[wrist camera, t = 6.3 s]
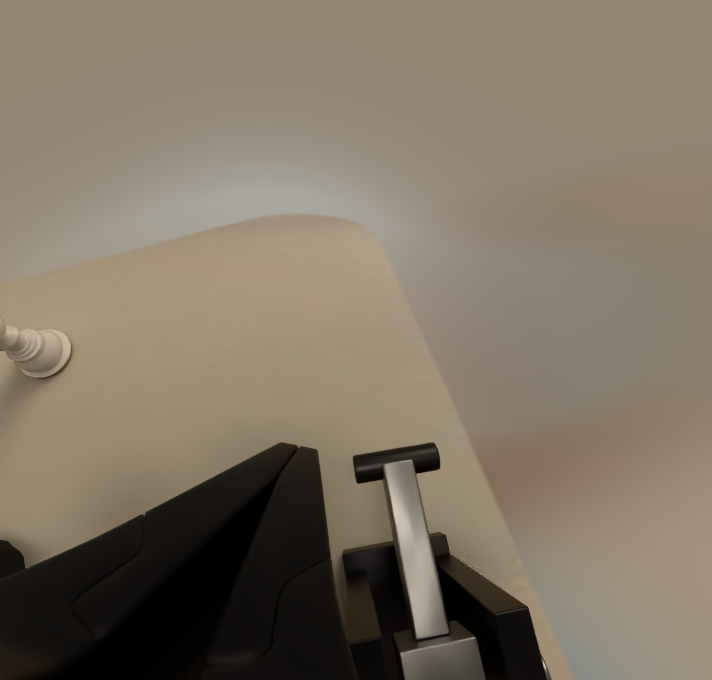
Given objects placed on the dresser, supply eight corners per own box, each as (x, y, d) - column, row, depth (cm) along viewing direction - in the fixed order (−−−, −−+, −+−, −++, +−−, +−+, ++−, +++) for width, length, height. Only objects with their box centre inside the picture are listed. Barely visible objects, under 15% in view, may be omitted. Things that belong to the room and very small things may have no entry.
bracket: (332, 552, 20) (321, 612, 11) (450, 529, 20) (537, 569, 11) (351, 700, 18) (358, 933, 9) (481, 672, 18) (618, 864, 9)
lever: (352, 461, 16) (352, 449, 13) (427, 448, 16) (439, 435, 14) (397, 748, 12) (406, 796, 10) (494, 727, 12) (524, 768, 10)
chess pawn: (69, 376, 22) (-5, 348, 18) (16, 380, 22) (-72, 353, 18) (76, 329, 23) (7, 290, 19) (25, 333, 23) (-56, 295, 19)
